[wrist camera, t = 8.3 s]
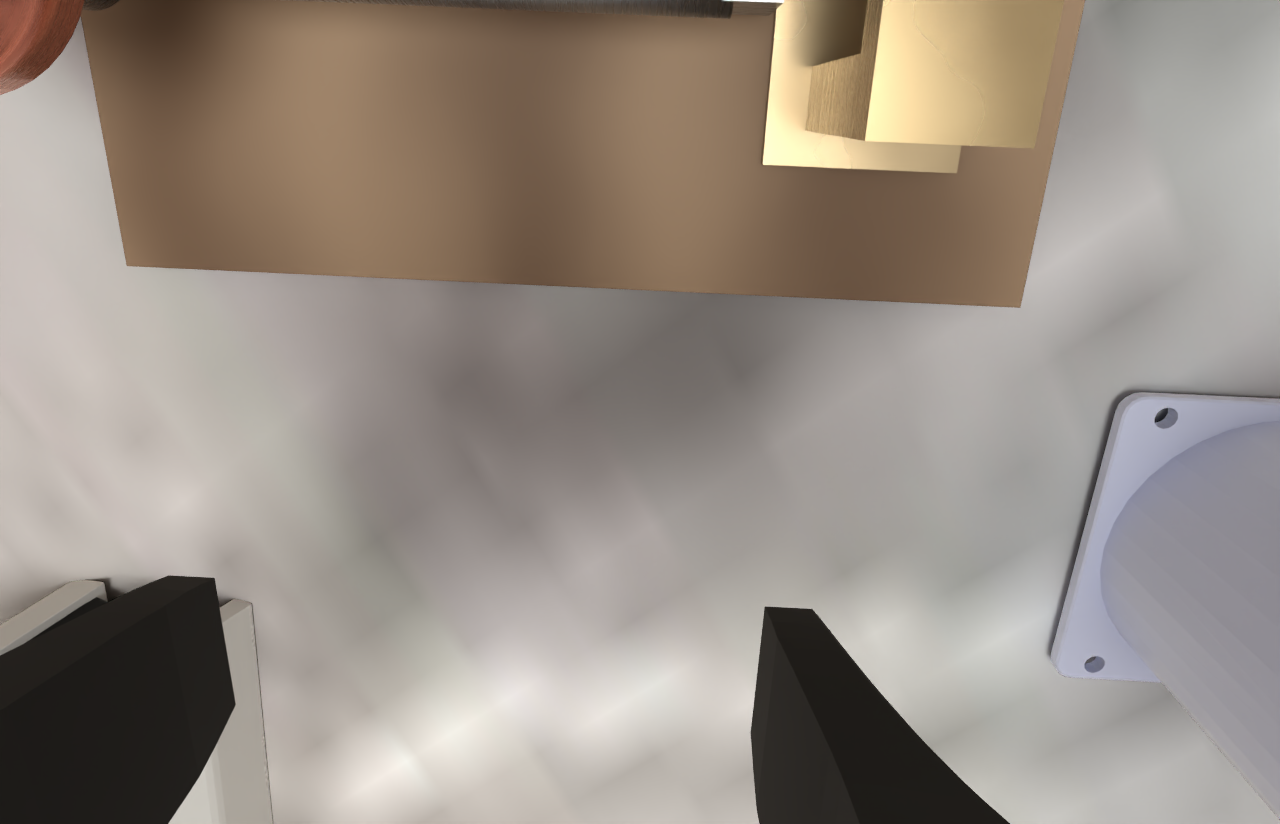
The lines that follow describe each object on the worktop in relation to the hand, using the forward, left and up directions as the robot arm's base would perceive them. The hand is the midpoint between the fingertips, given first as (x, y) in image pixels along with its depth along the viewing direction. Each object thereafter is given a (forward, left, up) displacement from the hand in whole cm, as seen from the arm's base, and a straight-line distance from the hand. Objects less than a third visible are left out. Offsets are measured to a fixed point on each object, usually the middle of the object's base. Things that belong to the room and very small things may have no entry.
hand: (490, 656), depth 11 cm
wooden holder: (-6, -9, -9) cm, 14 cm away
